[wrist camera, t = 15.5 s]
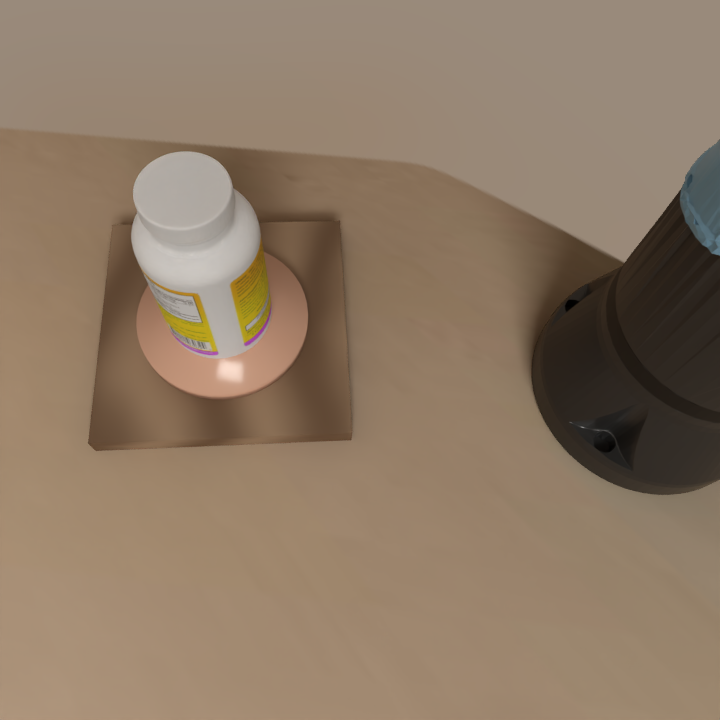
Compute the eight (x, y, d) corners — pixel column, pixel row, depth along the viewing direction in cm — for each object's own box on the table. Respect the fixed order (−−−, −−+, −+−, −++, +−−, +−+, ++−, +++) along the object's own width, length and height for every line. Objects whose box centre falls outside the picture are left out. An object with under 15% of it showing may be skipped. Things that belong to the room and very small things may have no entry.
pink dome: (305, 250, 47) (305, 242, 46) (310, 396, 42) (310, 390, 42) (146, 254, 46) (142, 245, 45) (133, 403, 42) (129, 397, 41)
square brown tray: (339, 233, 50) (339, 220, 48) (351, 439, 43) (352, 432, 42) (118, 237, 48) (112, 224, 47) (95, 450, 42) (88, 443, 40)
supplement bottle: (260, 263, 45) (239, 123, 33) (283, 349, 43) (268, 230, 31) (160, 284, 44) (103, 147, 32) (177, 373, 42) (121, 260, 30)
